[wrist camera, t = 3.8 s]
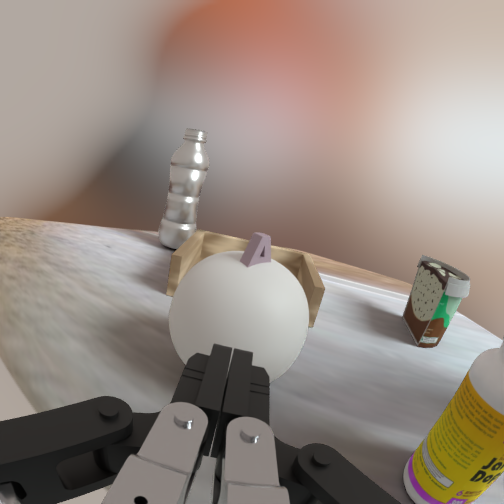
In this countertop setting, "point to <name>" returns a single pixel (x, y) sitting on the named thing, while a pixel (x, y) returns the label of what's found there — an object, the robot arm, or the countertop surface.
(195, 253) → the bay
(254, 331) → the ornament
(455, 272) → the food container
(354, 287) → the countertop surface
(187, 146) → the plastic bottle
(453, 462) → the supplement bottle
